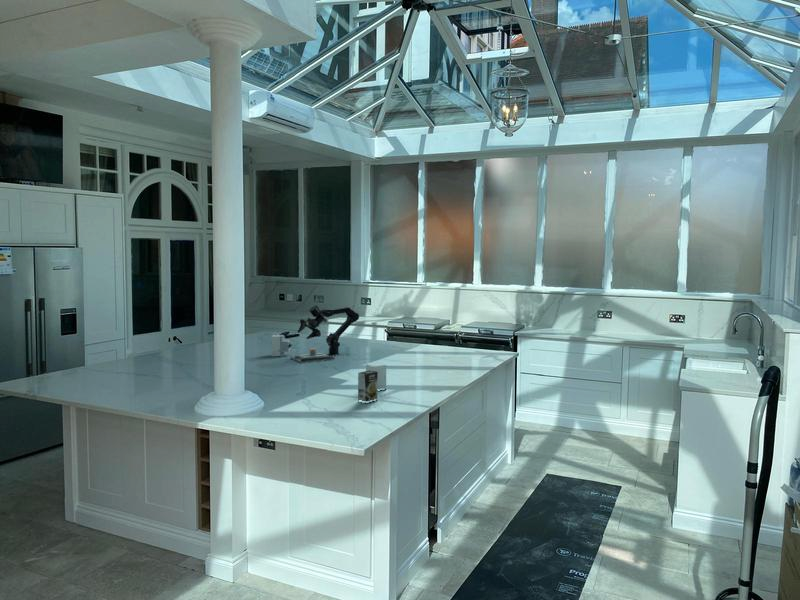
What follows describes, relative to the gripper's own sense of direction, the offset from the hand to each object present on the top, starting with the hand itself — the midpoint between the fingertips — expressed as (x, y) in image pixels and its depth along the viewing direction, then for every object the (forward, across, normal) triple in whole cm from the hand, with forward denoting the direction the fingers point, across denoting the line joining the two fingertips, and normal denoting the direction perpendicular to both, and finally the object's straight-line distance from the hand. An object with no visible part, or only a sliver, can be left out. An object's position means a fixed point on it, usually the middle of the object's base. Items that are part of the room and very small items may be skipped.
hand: (302, 335), depth 459 cm
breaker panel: (+6, +14, +10) cm, 19 cm away
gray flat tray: (+6, +14, +9) cm, 18 cm away
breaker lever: (+6, +14, +9) cm, 18 cm away
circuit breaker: (+16, -11, +18) cm, 26 cm away
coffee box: (+36, +107, -72) cm, 134 cm away
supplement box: (+21, +97, -53) cm, 113 cm away
